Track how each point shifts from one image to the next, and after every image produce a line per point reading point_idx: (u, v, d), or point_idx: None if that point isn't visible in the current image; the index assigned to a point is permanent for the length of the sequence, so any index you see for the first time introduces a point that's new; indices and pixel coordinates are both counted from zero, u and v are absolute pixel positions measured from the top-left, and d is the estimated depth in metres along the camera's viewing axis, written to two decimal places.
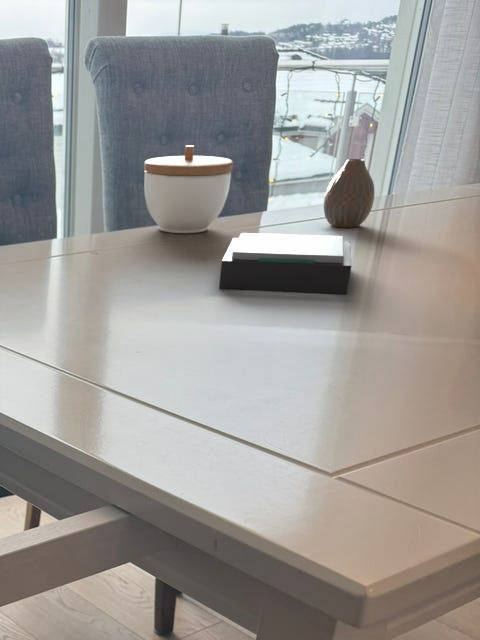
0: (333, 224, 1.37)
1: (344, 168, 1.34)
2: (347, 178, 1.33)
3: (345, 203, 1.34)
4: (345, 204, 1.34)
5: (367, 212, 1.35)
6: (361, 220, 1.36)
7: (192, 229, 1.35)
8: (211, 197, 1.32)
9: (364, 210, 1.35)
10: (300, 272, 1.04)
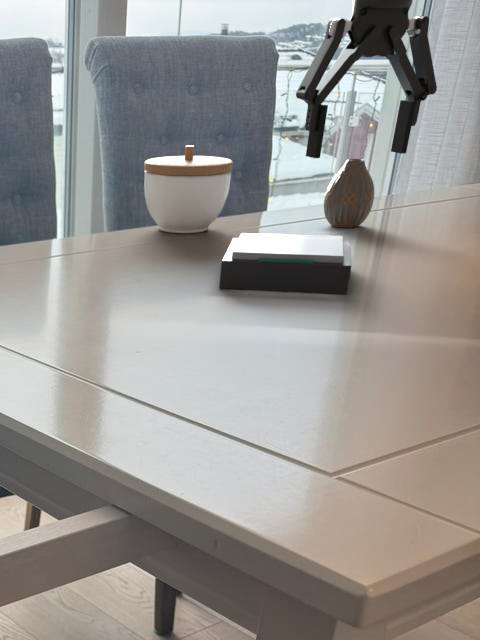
0: (333, 224, 1.37)
1: (344, 168, 1.34)
2: (347, 178, 1.33)
3: (345, 203, 1.34)
4: (345, 204, 1.34)
5: (367, 212, 1.35)
6: (361, 220, 1.36)
7: (192, 229, 1.35)
8: (211, 197, 1.32)
9: (364, 210, 1.35)
10: (300, 272, 1.04)
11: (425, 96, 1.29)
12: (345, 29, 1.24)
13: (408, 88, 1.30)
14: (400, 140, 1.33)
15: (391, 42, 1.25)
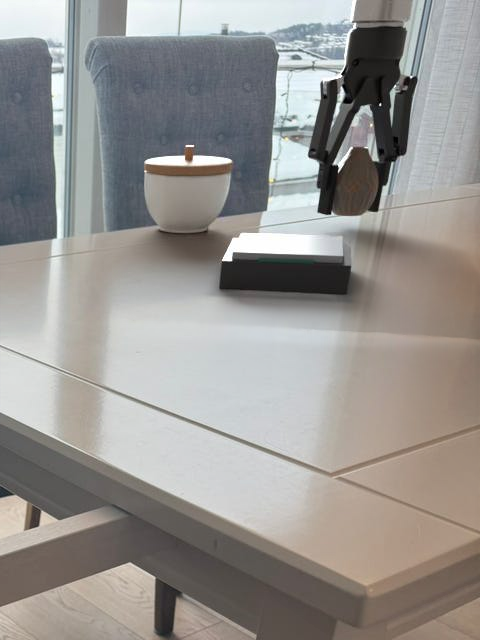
0: (337, 213, 1.36)
1: (348, 156, 1.33)
2: (351, 166, 1.32)
3: (349, 191, 1.33)
4: (349, 191, 1.33)
5: (371, 200, 1.34)
6: (365, 208, 1.35)
7: (192, 229, 1.35)
8: (211, 197, 1.32)
9: (368, 198, 1.33)
10: (300, 272, 1.04)
11: (395, 158, 1.33)
12: (338, 85, 1.27)
13: (382, 146, 1.33)
14: None
15: None
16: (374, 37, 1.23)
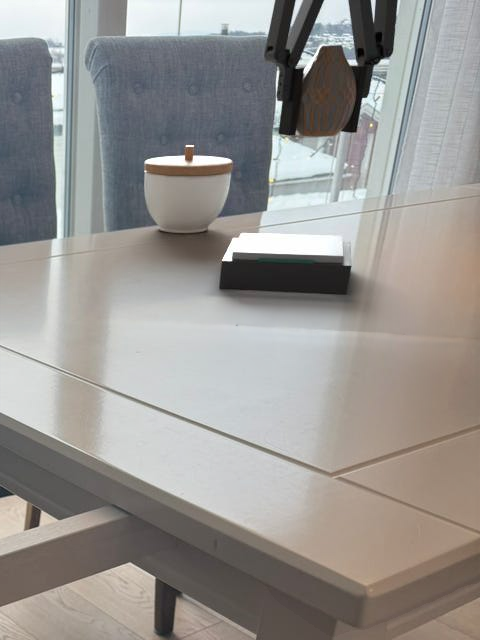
0: (303, 133, 1.06)
1: (316, 56, 1.02)
2: (319, 69, 1.02)
3: (317, 102, 1.03)
4: (317, 103, 1.03)
5: (347, 115, 1.04)
6: (339, 126, 1.04)
7: (192, 229, 1.35)
8: (211, 197, 1.32)
9: (342, 111, 1.03)
10: (300, 272, 1.04)
11: (378, 60, 1.02)
12: None
13: (361, 44, 1.03)
14: None
15: None
16: None
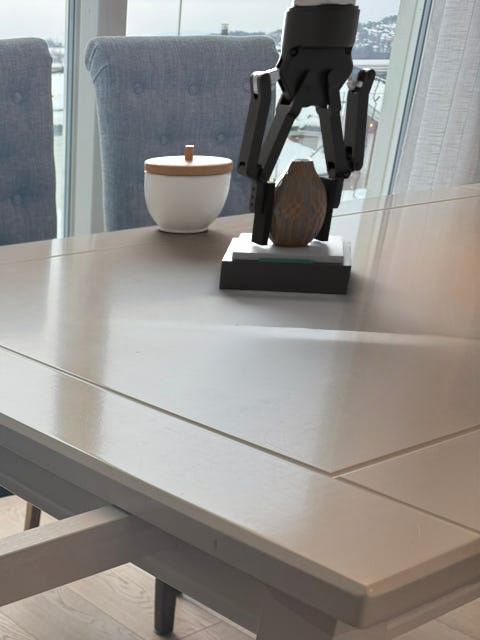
0: (275, 242, 1.07)
1: (287, 171, 1.04)
2: (291, 184, 1.03)
3: (288, 215, 1.04)
4: (289, 217, 1.04)
5: (318, 227, 1.05)
6: (310, 237, 1.06)
7: (192, 229, 1.35)
8: (211, 197, 1.32)
9: (313, 224, 1.05)
10: (300, 272, 1.04)
11: (348, 175, 1.04)
12: (273, 81, 0.98)
13: (331, 159, 1.04)
14: None
15: None
16: (316, 18, 0.94)
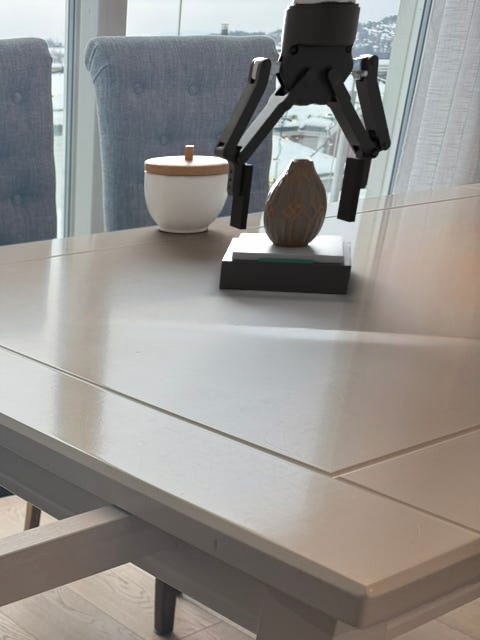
0: (275, 242, 1.07)
1: (287, 171, 1.04)
2: (291, 184, 1.03)
3: (288, 216, 1.04)
4: (289, 217, 1.04)
5: (318, 227, 1.05)
6: (310, 237, 1.06)
7: (192, 229, 1.35)
8: (211, 197, 1.32)
9: (313, 224, 1.05)
10: (300, 272, 1.04)
11: (376, 153, 1.03)
12: (272, 71, 0.98)
13: (355, 143, 1.04)
14: (347, 206, 1.07)
15: (331, 87, 0.99)
16: (317, 15, 0.94)
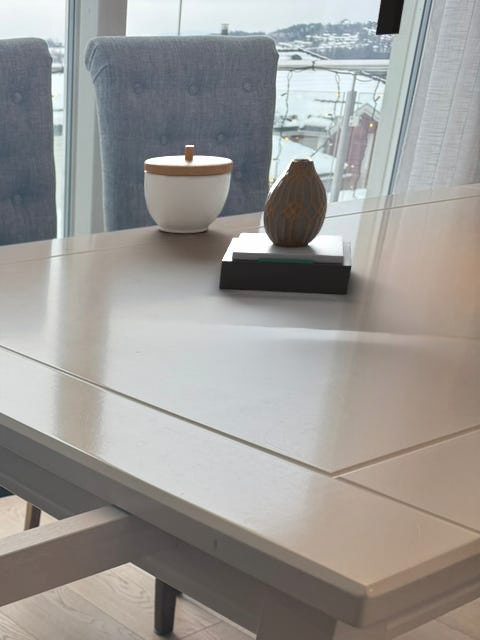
0: (275, 242, 1.07)
1: (287, 171, 1.04)
2: (291, 184, 1.03)
3: (288, 216, 1.04)
4: (289, 217, 1.04)
5: (318, 227, 1.05)
6: (310, 237, 1.06)
7: (192, 229, 1.35)
8: (211, 197, 1.32)
9: (313, 224, 1.05)
10: (300, 272, 1.04)
11: None
12: None
13: None
14: None
15: None
16: None
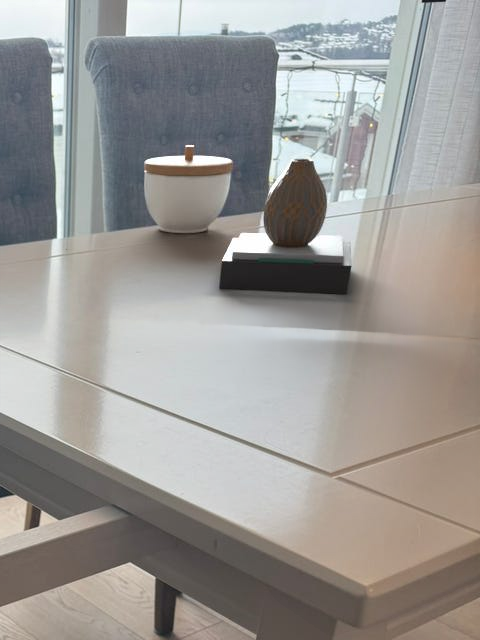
0: (275, 242, 1.07)
1: (287, 171, 1.04)
2: (291, 184, 1.03)
3: (288, 216, 1.04)
4: (289, 217, 1.04)
5: (318, 227, 1.05)
6: (310, 237, 1.06)
7: (192, 229, 1.35)
8: (211, 197, 1.32)
9: (313, 224, 1.05)
10: (300, 272, 1.04)
11: None
12: None
13: None
14: None
15: None
16: None
